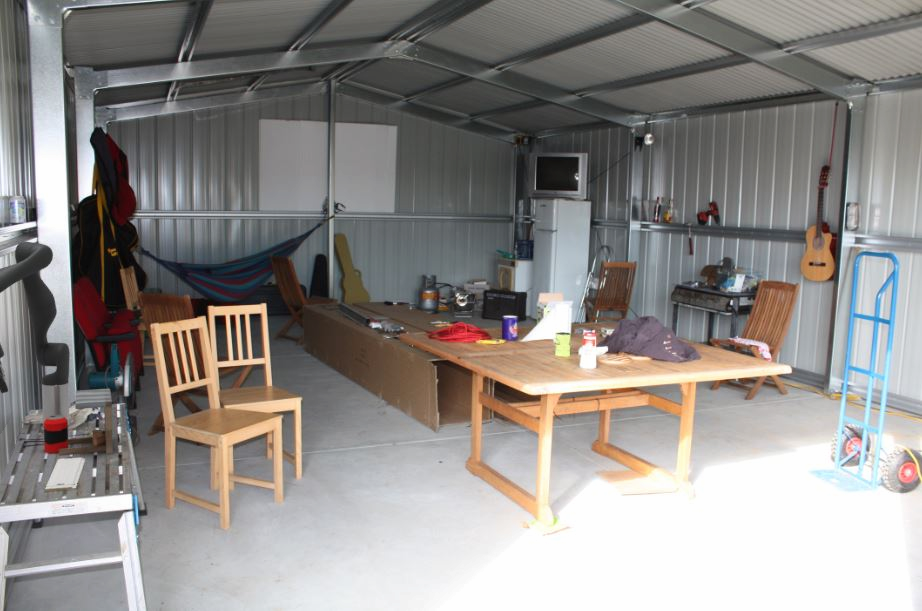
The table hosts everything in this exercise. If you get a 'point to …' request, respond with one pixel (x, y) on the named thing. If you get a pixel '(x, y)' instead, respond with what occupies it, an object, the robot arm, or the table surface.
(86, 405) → the overhang shelf
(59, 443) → the soda can
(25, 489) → the table surface
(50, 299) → the robot arm
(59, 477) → the baseboard
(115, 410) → the table surface
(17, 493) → the table surface
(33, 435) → the table surface
